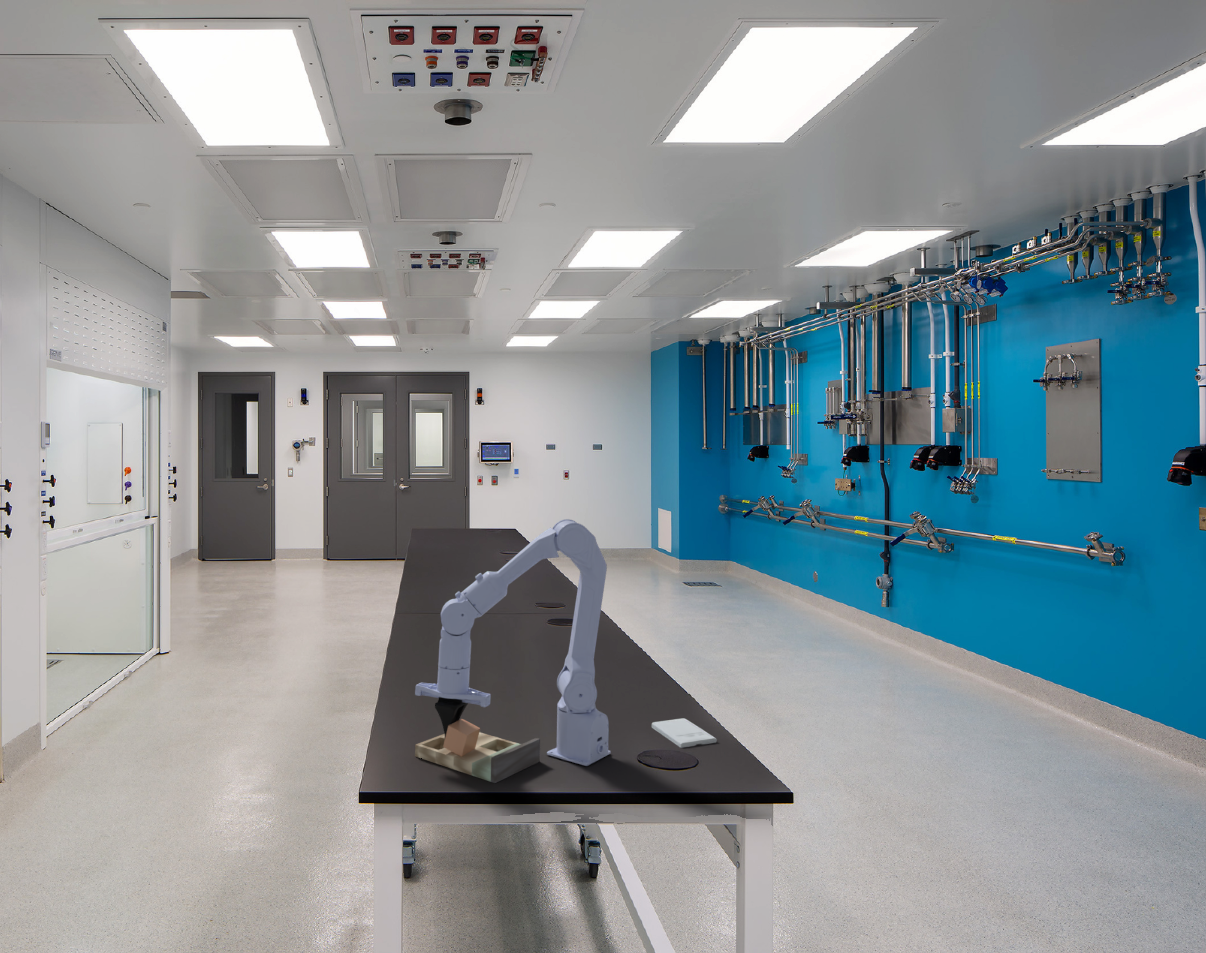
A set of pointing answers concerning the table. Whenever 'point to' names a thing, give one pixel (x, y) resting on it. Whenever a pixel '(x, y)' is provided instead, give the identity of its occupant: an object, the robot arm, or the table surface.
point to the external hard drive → (683, 732)
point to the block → (461, 737)
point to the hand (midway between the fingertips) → (449, 739)
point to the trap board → (483, 756)
